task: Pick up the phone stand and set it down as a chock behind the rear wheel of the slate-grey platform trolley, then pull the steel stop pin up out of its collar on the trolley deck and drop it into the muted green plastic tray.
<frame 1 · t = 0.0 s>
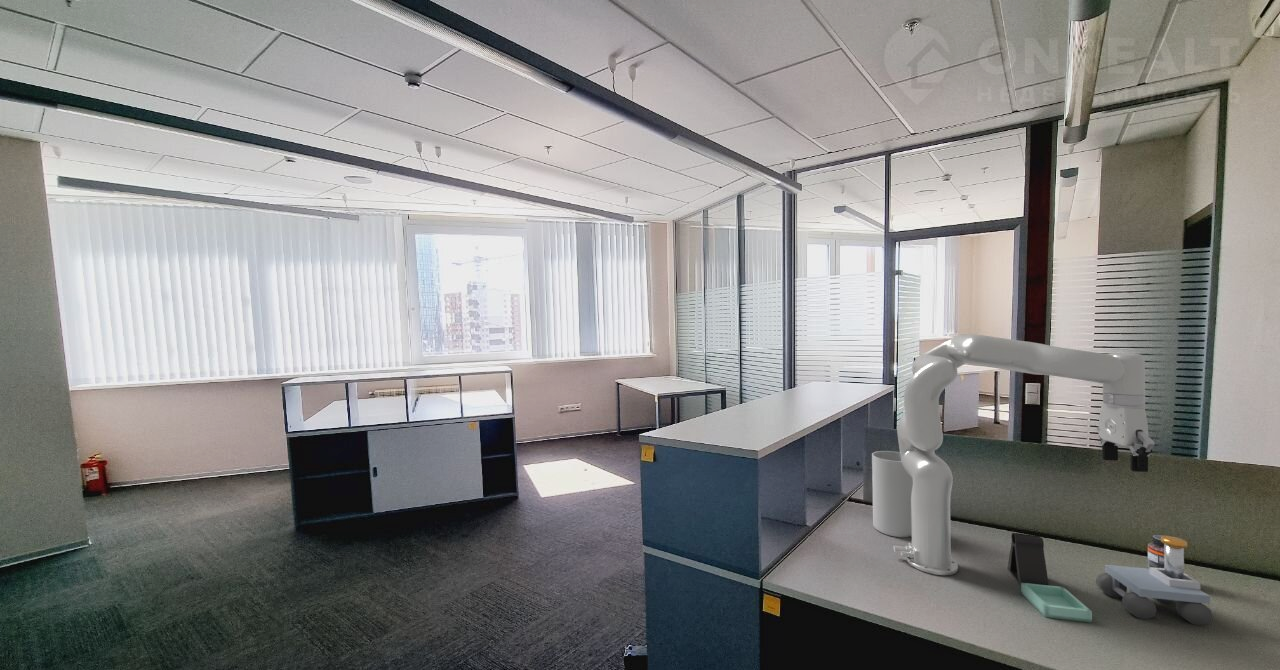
hand: (1124, 465, 118), 31 cm above the table, fingers open, 9 cm apart
tray: (1054, 606, 110), on the table
trolley: (1150, 607, 108), on the table
phone stand: (1027, 580, 121), on the table
stop pin: (1174, 581, 107), point 7 cm above the table, touching trolley
cylinder vase: (893, 530, 152), on the table
supplement bottle: (1164, 581, 119), on the table
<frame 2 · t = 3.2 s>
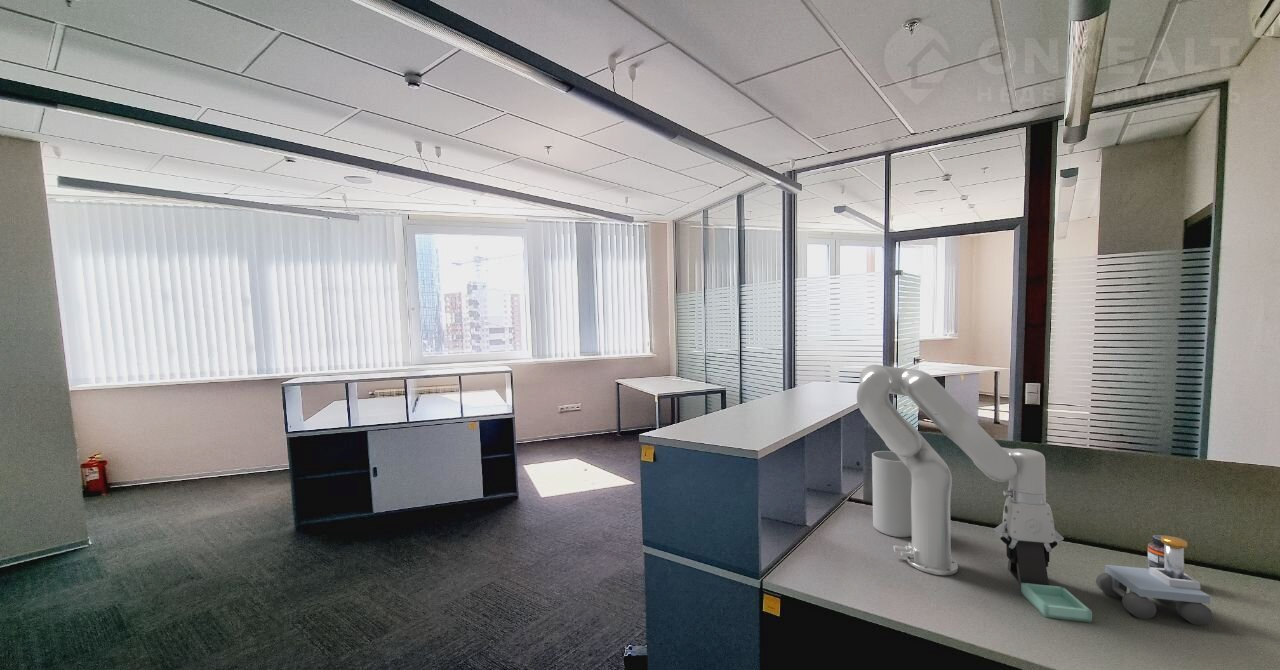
hand: (1027, 562, 121), 5 cm above the table, fingers closed on phone stand, 6 cm apart
phone stand: (1027, 580, 121), on the table, touching gripper
everything else where it was.
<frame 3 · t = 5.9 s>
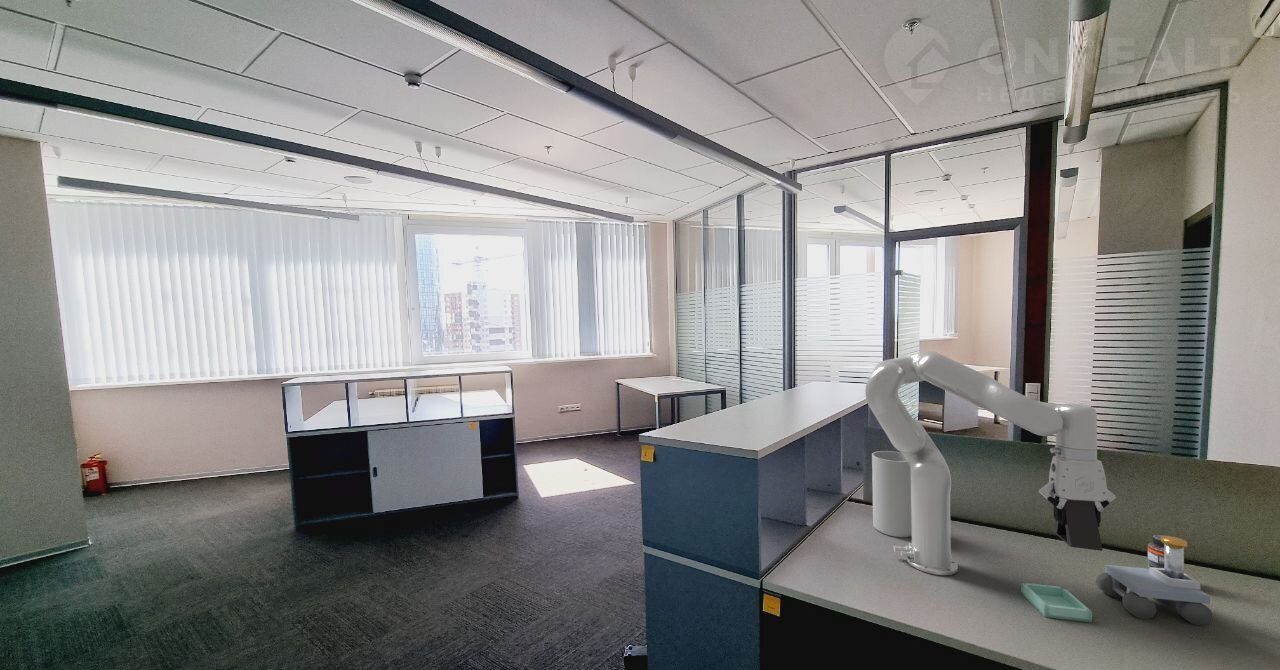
hand: (1076, 523, 115), 18 cm above the table, fingers closed on phone stand, 6 cm apart
phone stand: (1076, 542, 115), point 13 cm above the table, touching gripper
everything else where it was.
when the fingers open (5 cm above the table, at t = 8.5 s): phone stand stays where it is, on the table.
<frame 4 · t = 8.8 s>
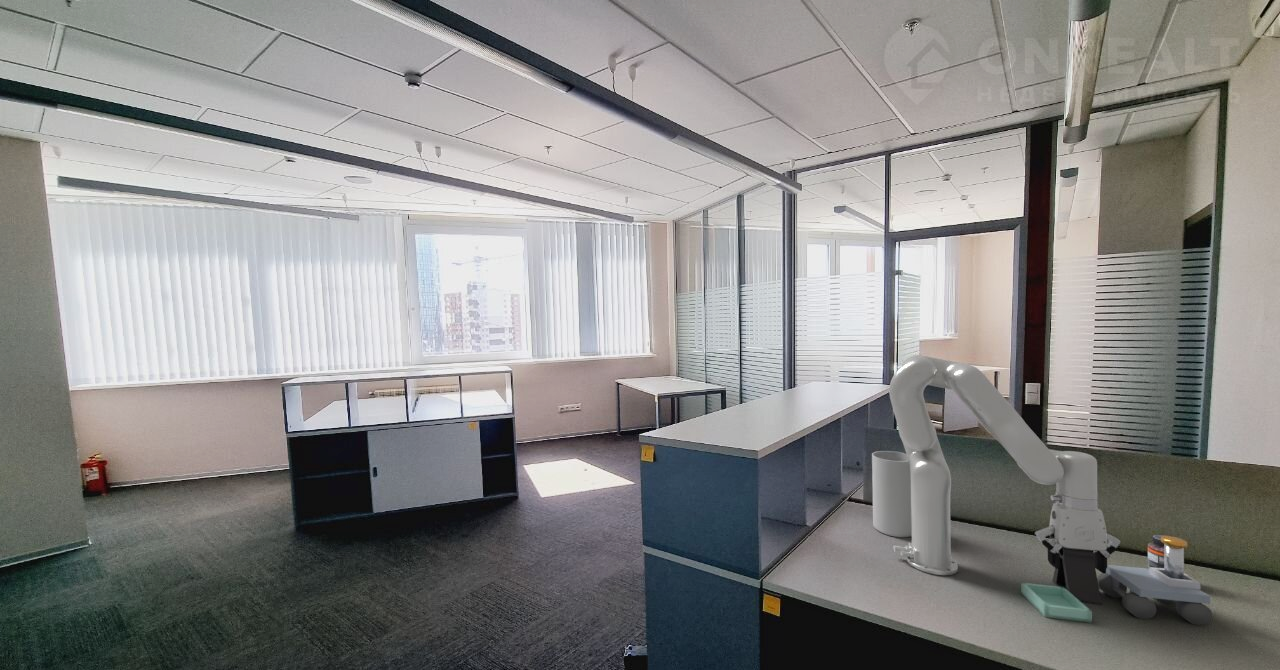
hand: (1076, 568, 115), 6 cm above the table, fingers open, 9 cm apart
phone stand: (1076, 593, 115), on the table
everything else where it was.
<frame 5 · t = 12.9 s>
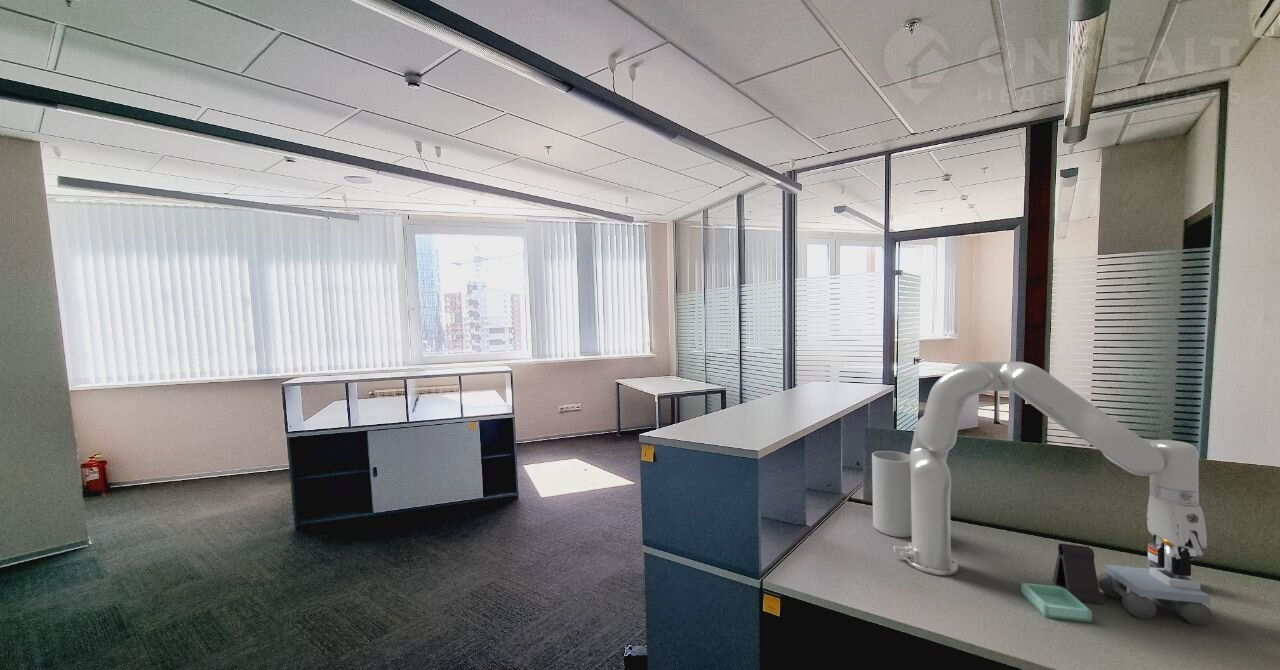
hand: (1174, 569, 107), 10 cm above the table, fingers closed on stop pin, 3 cm apart
stop pin: (1174, 581, 107), point 7 cm above the table, touching gripper, trolley
everything else where it was.
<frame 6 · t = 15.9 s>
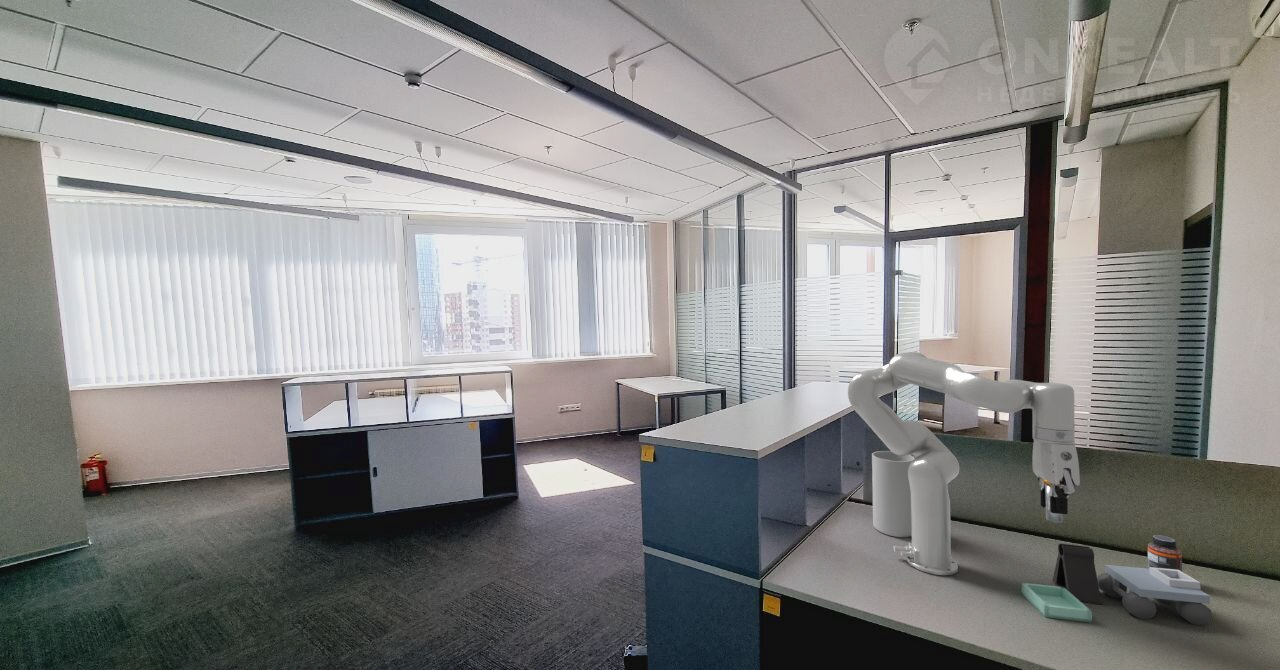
hand: (1053, 509, 109), 24 cm above the table, fingers closed on stop pin, 3 cm apart
stop pin: (1054, 520, 109), point 21 cm above the table, touching gripper
everything else where it was.
when the fingers open (5 cm above the table, at t = 19.0 s): stop pin drops 1 cm, resting on tray.
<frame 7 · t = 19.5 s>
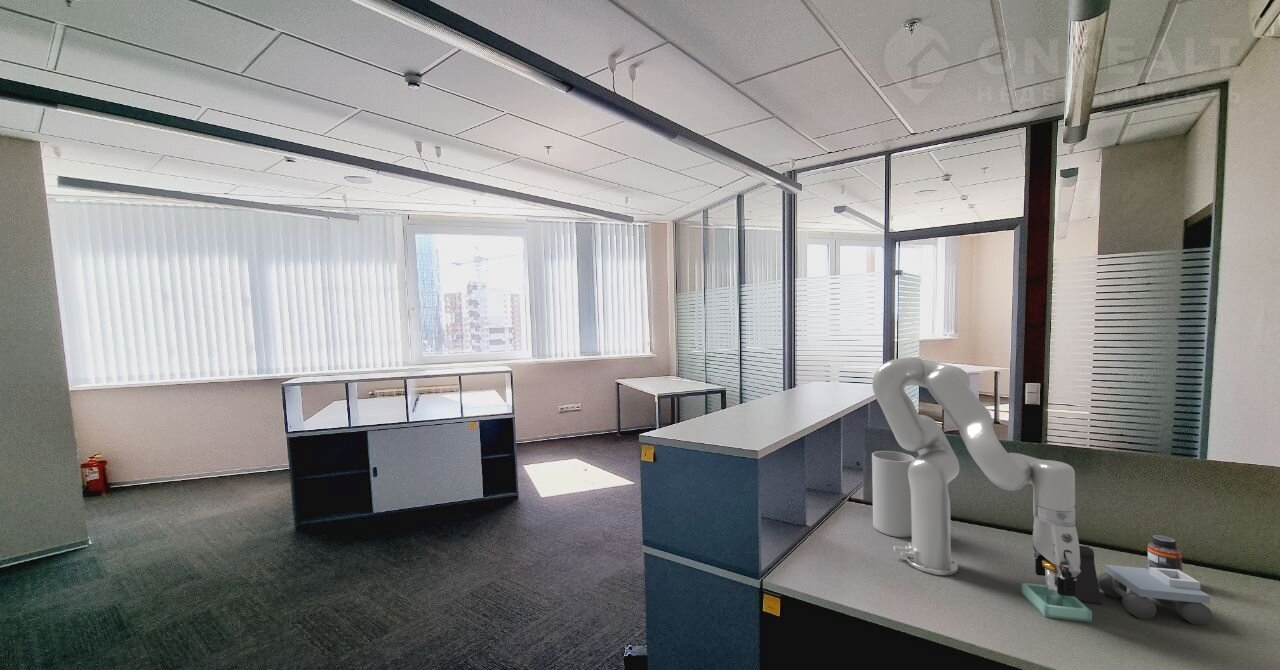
hand: (1054, 584, 109), 5 cm above the table, fingers open, 8 cm apart
stop pin: (1054, 604, 110), point 1 cm above the table, touching tray
everything else where it was.
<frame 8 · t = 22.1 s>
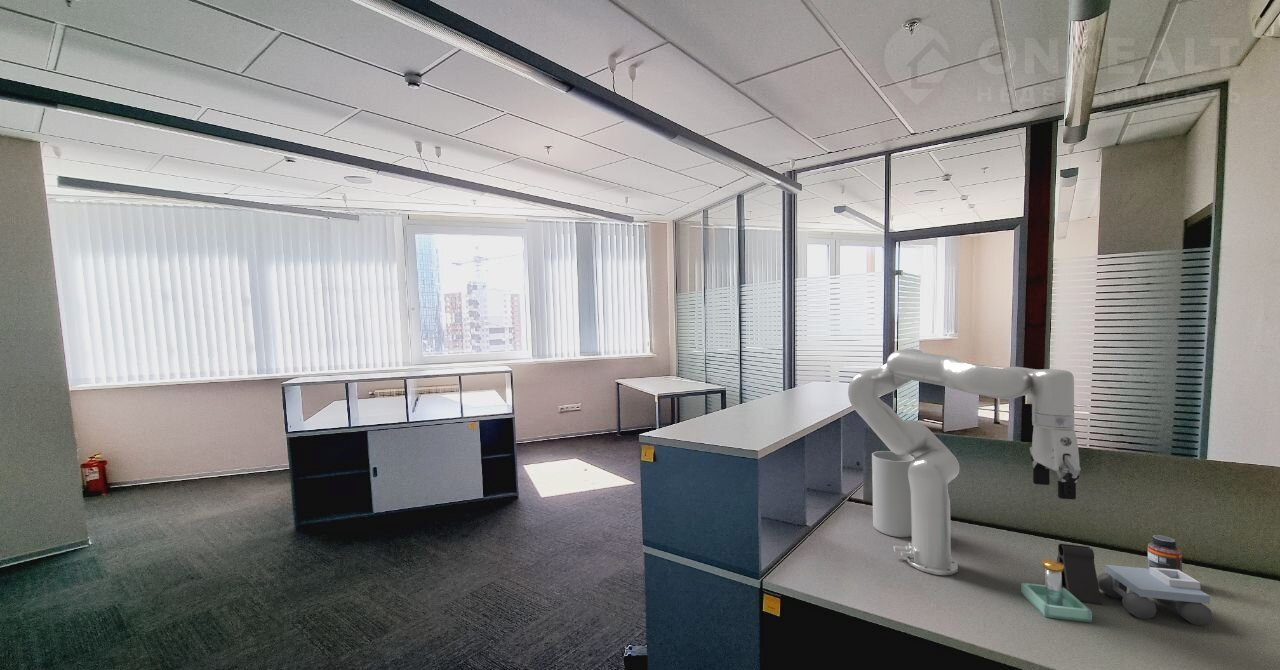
hand: (1053, 491, 109), 28 cm above the table, fingers open, 9 cm apart
nothing on the table moved.
at the end: phone stand inside the target area (0.5 cm from its centre), on the table; stop pin inside the target area on the tray (0.1 cm from its centre), point 0.6 cm above the tray's base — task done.
